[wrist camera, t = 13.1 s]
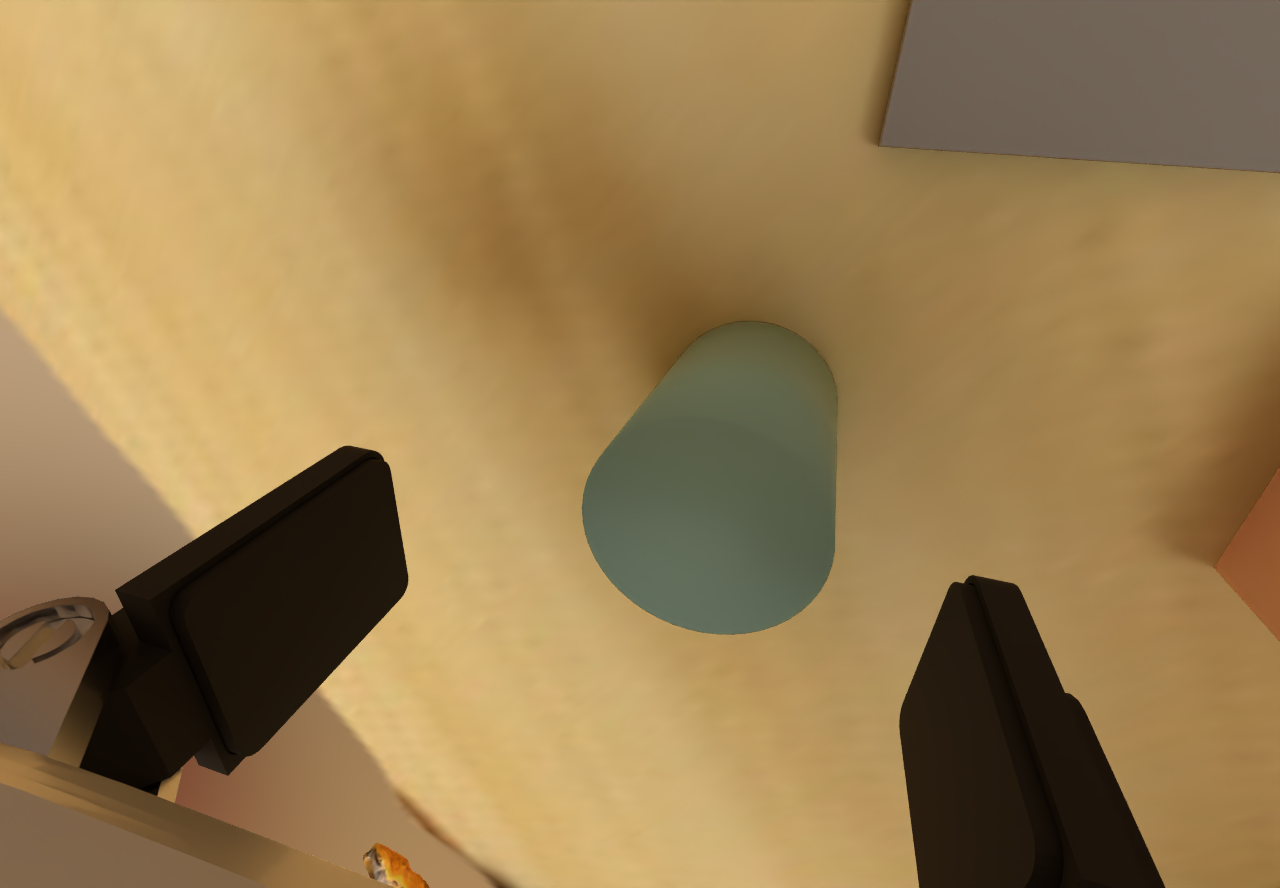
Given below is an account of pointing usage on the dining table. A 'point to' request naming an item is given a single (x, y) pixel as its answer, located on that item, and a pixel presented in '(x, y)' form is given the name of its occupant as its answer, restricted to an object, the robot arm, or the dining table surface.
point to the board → (1092, 81)
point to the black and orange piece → (391, 868)
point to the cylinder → (723, 485)
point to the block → (1257, 558)
